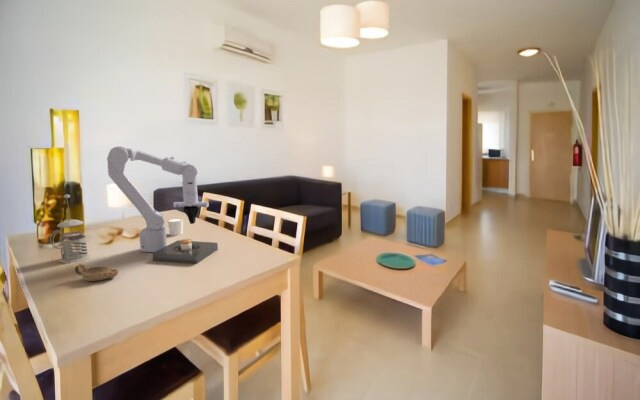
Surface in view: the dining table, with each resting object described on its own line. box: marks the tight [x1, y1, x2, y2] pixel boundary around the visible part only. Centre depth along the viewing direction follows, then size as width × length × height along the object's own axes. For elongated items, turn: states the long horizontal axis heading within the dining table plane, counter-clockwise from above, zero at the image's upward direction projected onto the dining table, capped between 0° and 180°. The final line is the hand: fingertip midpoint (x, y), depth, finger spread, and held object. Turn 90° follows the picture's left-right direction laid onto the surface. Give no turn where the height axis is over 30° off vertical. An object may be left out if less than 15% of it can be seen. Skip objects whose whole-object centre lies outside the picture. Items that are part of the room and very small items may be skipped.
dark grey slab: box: [151, 240, 219, 265], centre depth 125 cm, size 18×16×3 cm
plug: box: [179, 238, 192, 250], centre depth 125 cm, size 4×4×6 cm
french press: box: [49, 193, 92, 264], centre depth 118 cm, size 10×12×25 cm
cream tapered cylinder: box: [167, 218, 184, 237], centre depth 154 cm, size 7×7×7 cm
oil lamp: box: [73, 264, 119, 282], centre depth 103 cm, size 13×8×5 cm, turn 90°
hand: (192, 223), depth 138 cm, fingers closed
